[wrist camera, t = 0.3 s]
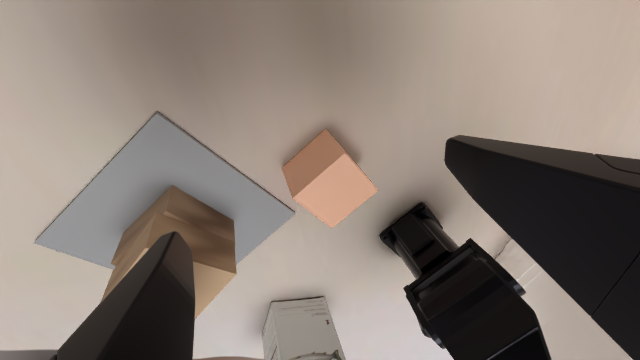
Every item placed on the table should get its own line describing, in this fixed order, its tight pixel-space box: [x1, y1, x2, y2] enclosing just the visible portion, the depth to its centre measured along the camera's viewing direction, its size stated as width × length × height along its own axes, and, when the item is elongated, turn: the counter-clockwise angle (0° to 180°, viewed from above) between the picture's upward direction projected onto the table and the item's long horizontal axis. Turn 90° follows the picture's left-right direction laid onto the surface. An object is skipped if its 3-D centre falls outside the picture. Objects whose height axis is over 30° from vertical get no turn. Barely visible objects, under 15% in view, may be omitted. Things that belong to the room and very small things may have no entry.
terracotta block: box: [282, 129, 378, 228], centre depth 23 cm, size 5×5×4 cm
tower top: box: [101, 213, 236, 319], centre depth 19 cm, size 6×6×3 cm
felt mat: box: [34, 112, 295, 270], centre depth 23 cm, size 14×14×1 cm
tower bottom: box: [111, 185, 235, 266], centre depth 22 cm, size 6×6×3 cm
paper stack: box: [495, 239, 633, 360], centre depth 35 cm, size 21×27×26 cm
